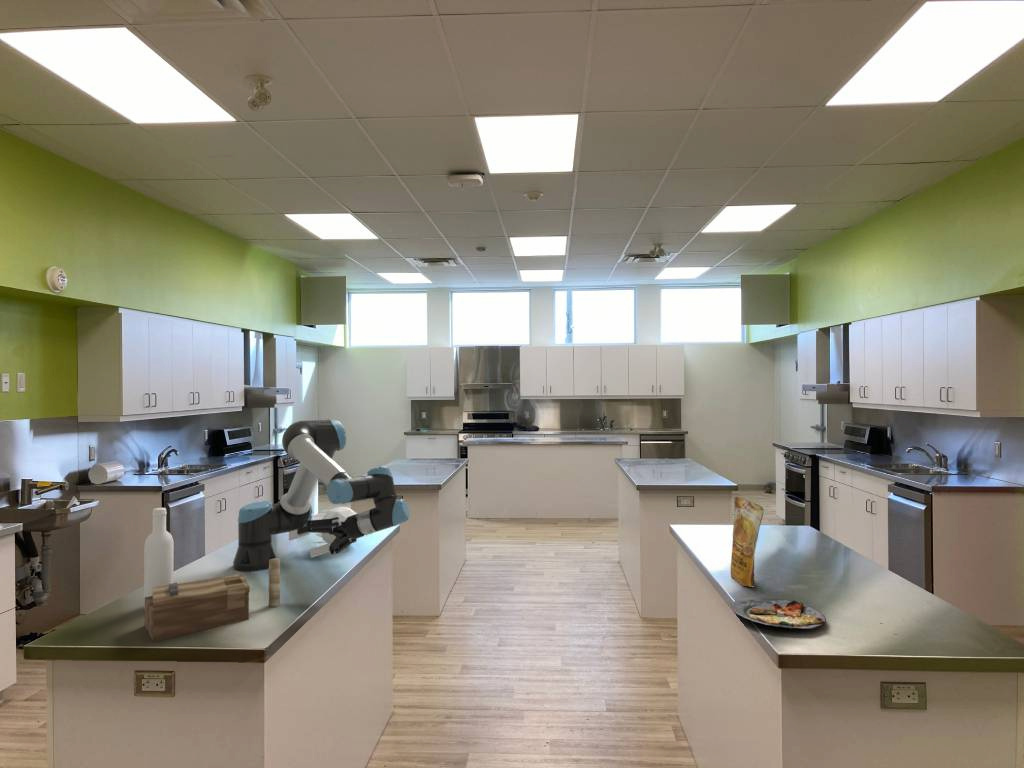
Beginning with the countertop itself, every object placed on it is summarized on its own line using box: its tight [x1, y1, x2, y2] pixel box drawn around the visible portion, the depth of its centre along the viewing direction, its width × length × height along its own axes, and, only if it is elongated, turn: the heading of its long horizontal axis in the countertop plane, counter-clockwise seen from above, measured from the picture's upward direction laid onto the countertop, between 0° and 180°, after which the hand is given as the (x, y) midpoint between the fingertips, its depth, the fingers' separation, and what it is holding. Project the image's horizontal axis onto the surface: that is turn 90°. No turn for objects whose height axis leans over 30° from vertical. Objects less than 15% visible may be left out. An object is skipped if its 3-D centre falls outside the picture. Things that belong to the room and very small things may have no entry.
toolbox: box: [143, 592, 250, 642], centre depth 169 cm, size 14×24×8 cm, turn 130°
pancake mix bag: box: [730, 496, 764, 588], centre depth 206 cm, size 7×19×28 cm, turn 0°
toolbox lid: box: [153, 573, 251, 608], centre depth 171 cm, size 14×24×3 cm, turn 122°
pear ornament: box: [315, 506, 358, 545], centre depth 254 cm, size 16×22×28 cm
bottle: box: [143, 507, 175, 610], centre depth 183 cm, size 8×8×30 cm
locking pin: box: [268, 557, 281, 608], centre depth 183 cm, size 3×3×14 cm
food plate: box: [731, 596, 827, 630], centre depth 172 cm, size 25×23×4 cm
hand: (300, 545), depth 191 cm, fingers open, 13 cm apart
